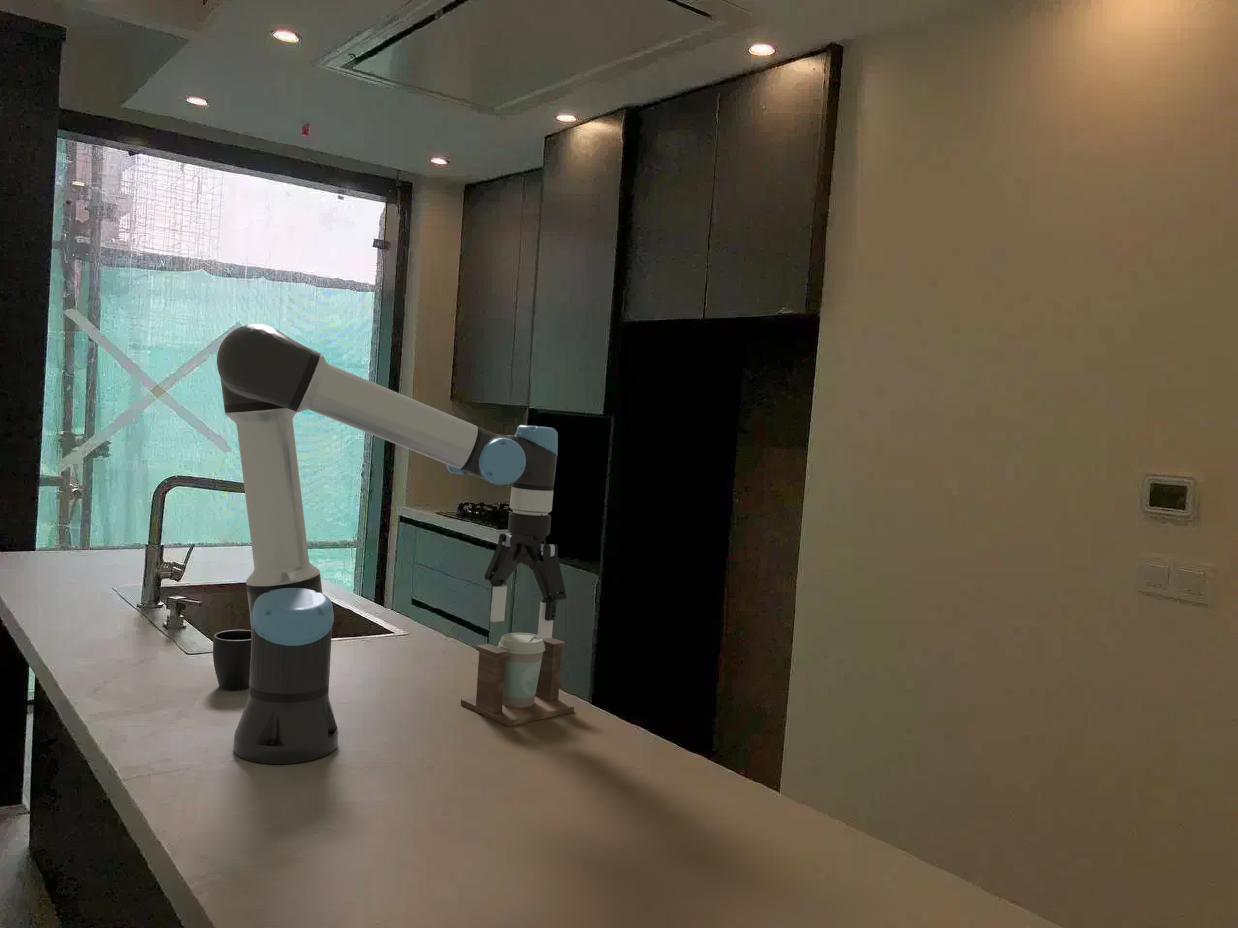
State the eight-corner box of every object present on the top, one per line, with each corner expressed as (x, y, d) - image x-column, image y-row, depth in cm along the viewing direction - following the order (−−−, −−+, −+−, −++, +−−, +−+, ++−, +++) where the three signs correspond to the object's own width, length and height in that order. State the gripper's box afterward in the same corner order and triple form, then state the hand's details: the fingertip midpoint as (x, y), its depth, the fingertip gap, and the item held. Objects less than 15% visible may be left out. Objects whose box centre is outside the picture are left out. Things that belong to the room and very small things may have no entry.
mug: (287, 685, 180) (289, 634, 180) (223, 695, 172) (225, 642, 171) (266, 674, 186) (268, 625, 186) (203, 684, 177) (205, 632, 177)
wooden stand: (506, 726, 166) (511, 658, 165) (458, 704, 176) (462, 640, 175) (575, 711, 177) (580, 647, 176) (526, 691, 187) (531, 630, 186)
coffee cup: (518, 713, 170) (523, 645, 170) (484, 701, 176) (488, 636, 175) (551, 703, 177) (555, 638, 176) (516, 692, 182) (521, 629, 182)
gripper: (593, 521, 168) (582, 643, 169) (504, 503, 186) (494, 613, 187) (560, 522, 163) (549, 647, 164) (472, 503, 181) (462, 616, 182)
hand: (520, 629), depth 176 cm, fingers open, 13 cm apart
